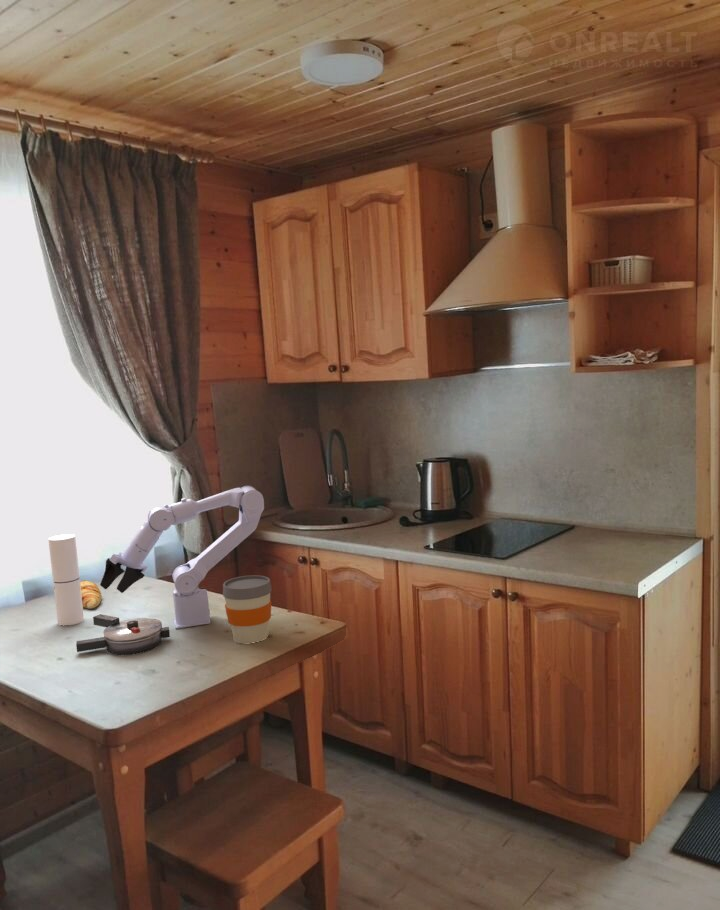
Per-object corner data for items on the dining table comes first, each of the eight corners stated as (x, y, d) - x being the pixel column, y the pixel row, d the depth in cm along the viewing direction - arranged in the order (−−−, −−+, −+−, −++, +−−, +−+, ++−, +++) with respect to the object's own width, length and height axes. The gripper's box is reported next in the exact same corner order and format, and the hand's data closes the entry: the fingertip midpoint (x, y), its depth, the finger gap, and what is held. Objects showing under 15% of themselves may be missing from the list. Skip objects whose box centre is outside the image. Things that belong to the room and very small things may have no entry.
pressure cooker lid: (174, 625, 199) (173, 617, 199) (130, 645, 187) (129, 635, 187) (119, 615, 211) (118, 607, 210) (74, 633, 198) (73, 624, 198)
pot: (168, 630, 207) (166, 618, 207) (172, 648, 193) (170, 635, 193) (78, 644, 200) (77, 632, 200) (76, 664, 187) (74, 650, 186)
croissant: (104, 619, 231) (115, 594, 233) (73, 611, 226) (84, 585, 227) (84, 602, 249) (94, 579, 250) (55, 594, 243) (65, 570, 244)
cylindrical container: (68, 627, 215) (58, 540, 212) (52, 623, 219) (43, 539, 216) (89, 619, 221) (80, 535, 218) (73, 616, 225) (64, 533, 222)
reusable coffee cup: (250, 626, 206) (245, 573, 205) (285, 633, 199) (280, 578, 197) (216, 641, 196) (211, 585, 195) (251, 650, 189) (247, 591, 187)
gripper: (145, 544, 215) (117, 584, 213) (115, 533, 201) (85, 577, 200) (162, 557, 212) (133, 598, 210) (133, 547, 198) (102, 591, 197)
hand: (111, 589), depth 205 cm, fingers open, 7 cm apart
